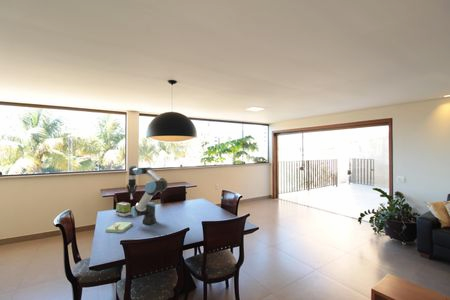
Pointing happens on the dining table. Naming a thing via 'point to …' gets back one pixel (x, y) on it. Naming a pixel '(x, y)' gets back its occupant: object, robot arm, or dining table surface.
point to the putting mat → (119, 227)
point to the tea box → (123, 209)
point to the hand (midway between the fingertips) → (131, 199)
